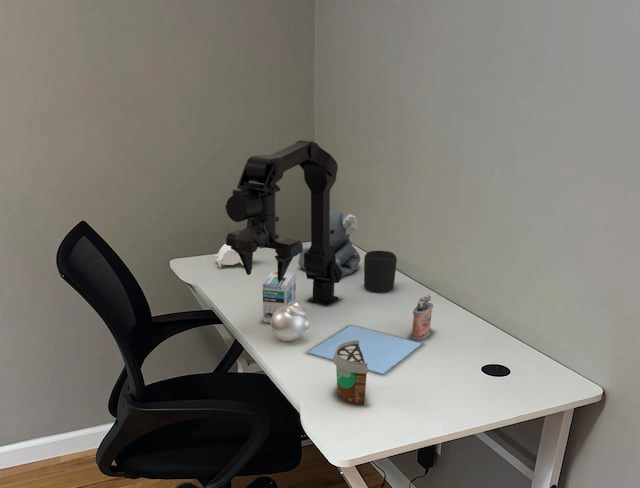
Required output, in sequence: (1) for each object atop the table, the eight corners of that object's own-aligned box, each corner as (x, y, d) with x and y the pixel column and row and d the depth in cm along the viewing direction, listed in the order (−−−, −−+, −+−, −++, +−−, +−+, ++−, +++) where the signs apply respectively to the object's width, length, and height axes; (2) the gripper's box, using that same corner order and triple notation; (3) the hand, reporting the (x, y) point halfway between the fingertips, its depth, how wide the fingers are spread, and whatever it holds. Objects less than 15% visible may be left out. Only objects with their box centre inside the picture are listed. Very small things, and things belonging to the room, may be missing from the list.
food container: (328, 381, 153) (330, 339, 148) (356, 380, 153) (358, 339, 148) (335, 409, 142) (336, 365, 137) (365, 408, 142) (367, 364, 138)
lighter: (420, 342, 172) (423, 304, 167) (407, 339, 173) (410, 301, 169) (433, 331, 178) (437, 294, 173) (421, 328, 180) (424, 291, 175)
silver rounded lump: (301, 349, 167) (301, 310, 163) (265, 343, 170) (264, 305, 165) (314, 335, 175) (314, 298, 170) (279, 330, 178) (279, 293, 173)
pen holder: (401, 288, 207) (403, 255, 202) (381, 296, 201) (383, 262, 196) (376, 280, 212) (378, 248, 208) (356, 288, 206) (357, 255, 202)
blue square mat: (350, 326, 180) (350, 325, 180) (421, 344, 171) (421, 343, 171) (308, 353, 165) (308, 352, 165) (382, 374, 156) (382, 373, 156)
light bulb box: (287, 325, 181) (287, 285, 176) (262, 323, 182) (261, 283, 177) (296, 310, 190) (296, 272, 185) (272, 308, 191) (272, 270, 186)
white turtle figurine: (224, 278, 222) (267, 259, 222) (213, 254, 218) (257, 235, 218) (222, 270, 229) (263, 251, 230) (211, 247, 225) (253, 228, 225)
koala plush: (294, 268, 222) (294, 206, 213) (336, 258, 232) (338, 198, 224) (330, 282, 210) (332, 218, 201) (373, 271, 221) (376, 209, 212)
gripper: (209, 214, 160) (212, 279, 167) (276, 226, 151) (277, 294, 158) (239, 205, 169) (241, 268, 176) (304, 216, 160) (303, 281, 167)
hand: (264, 278), depth 169 cm, fingers open, 9 cm apart
